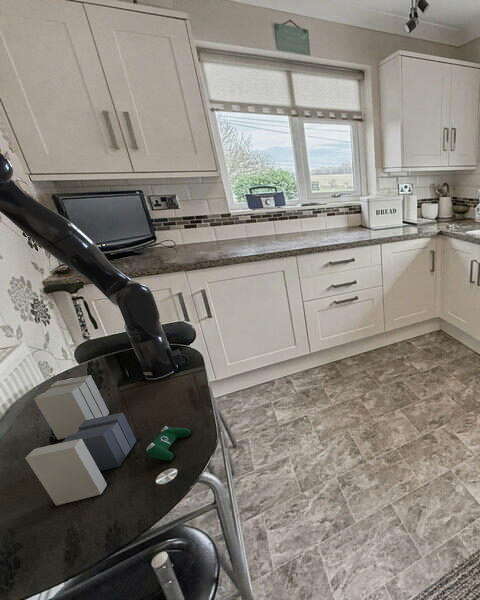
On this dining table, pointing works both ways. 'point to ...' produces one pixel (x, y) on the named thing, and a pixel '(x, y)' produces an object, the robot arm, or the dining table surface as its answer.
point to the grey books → (106, 439)
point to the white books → (71, 405)
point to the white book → (67, 471)
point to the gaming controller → (165, 442)
